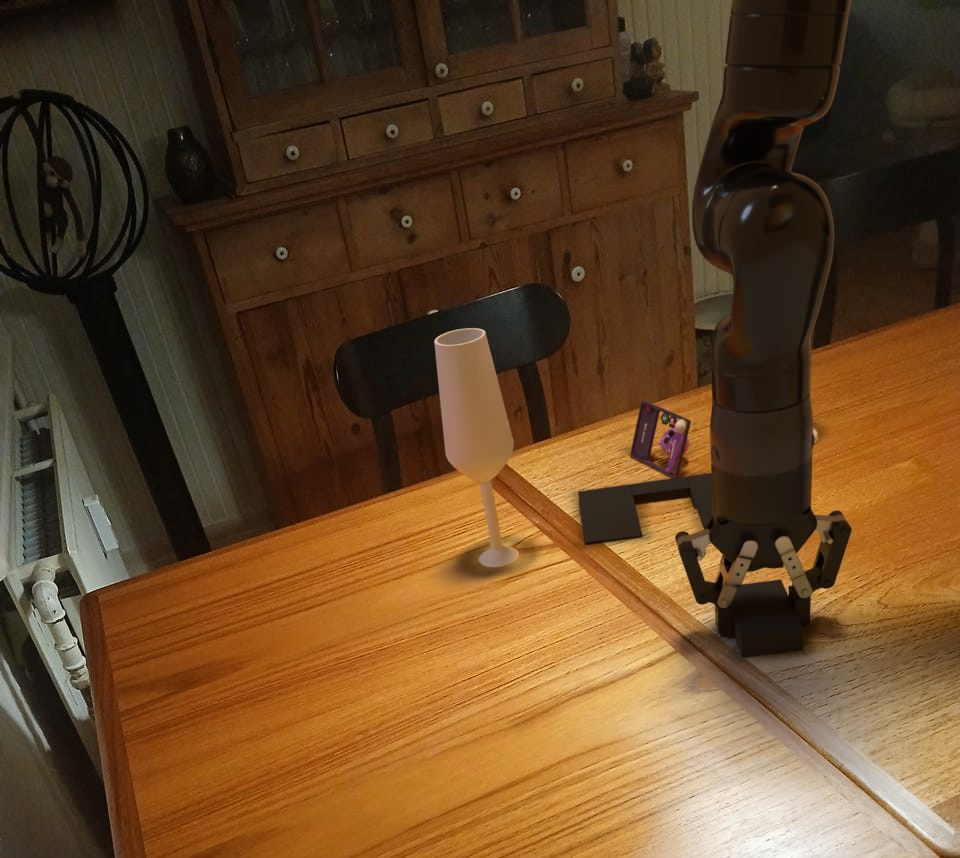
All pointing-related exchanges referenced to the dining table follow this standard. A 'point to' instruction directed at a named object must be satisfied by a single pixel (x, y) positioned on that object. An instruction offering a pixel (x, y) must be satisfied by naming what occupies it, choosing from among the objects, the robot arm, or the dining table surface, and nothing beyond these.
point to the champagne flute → (475, 422)
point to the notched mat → (615, 509)
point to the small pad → (766, 620)
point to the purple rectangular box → (670, 443)
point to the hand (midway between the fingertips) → (761, 631)
